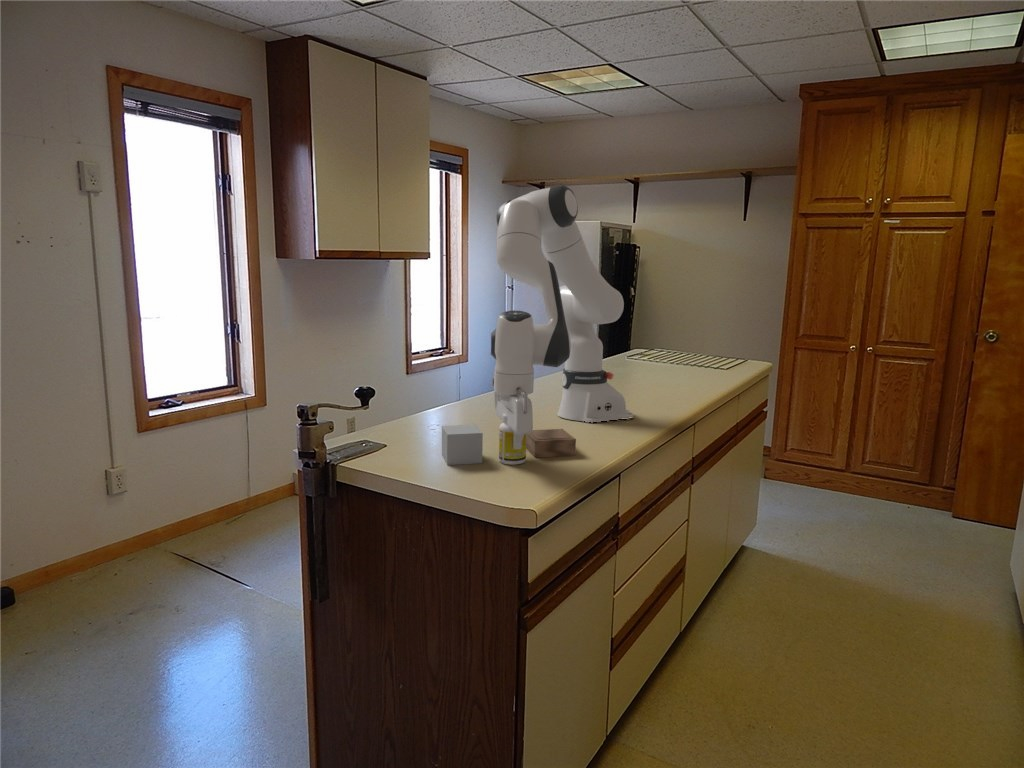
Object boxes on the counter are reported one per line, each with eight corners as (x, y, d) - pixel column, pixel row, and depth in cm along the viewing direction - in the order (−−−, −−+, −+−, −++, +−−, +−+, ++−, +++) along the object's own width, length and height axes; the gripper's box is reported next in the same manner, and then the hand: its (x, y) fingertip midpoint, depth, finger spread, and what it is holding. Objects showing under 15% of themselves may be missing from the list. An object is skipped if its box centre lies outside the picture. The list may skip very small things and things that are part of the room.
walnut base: (561, 444, 166) (562, 428, 166) (575, 455, 157) (575, 438, 156) (523, 446, 164) (523, 429, 163) (534, 457, 154) (535, 440, 154)
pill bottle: (531, 461, 151) (532, 414, 149) (513, 467, 147) (514, 418, 145) (511, 455, 155) (512, 410, 153) (493, 461, 151) (493, 414, 149)
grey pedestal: (475, 453, 157) (475, 424, 156) (482, 463, 149) (482, 433, 148) (441, 454, 155) (441, 425, 154) (447, 465, 147) (447, 434, 146)
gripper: (540, 392, 139) (539, 456, 141) (516, 376, 158) (514, 432, 161) (511, 393, 137) (510, 457, 140) (490, 377, 157) (489, 433, 159)
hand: (512, 444), depth 150 cm, fingers closed on pill bottle, 6 cm apart
